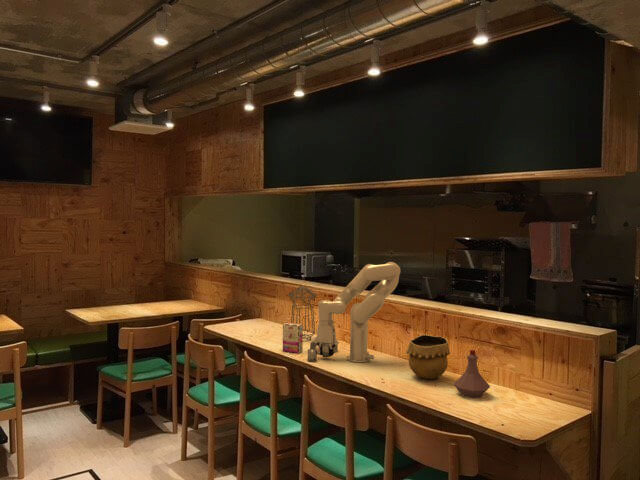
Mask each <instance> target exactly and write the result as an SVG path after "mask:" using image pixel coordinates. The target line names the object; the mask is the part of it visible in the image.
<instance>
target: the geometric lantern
mask: <svg viewBox="0 0 640 480" xmlns="http://www.w3.org/2000/svg"><path fill="white" fill-rule="evenodd" d="M308 294H309V295H308ZM287 295H288V297H289V298H290V300H291V301H292V302H293V303H292V306H291V317H292V318H290V319H291V321H290V323H294V324H301V310H302V309H305V310H304V314H305V315H304V316H305V317H304V329H303V339H305V338H306V339H307V340H305V342H311V341H312V337H313V336H314V335H315V334H316V329H315V327H316V326H314V325H315V316H314V315H315V314H314V311H315V309H314V305H312V304H311V300H312V301H314V299H316V297H317V296H319V295H318V293H315V292H314V291H312V290H311V289H309V288H308V287H306V286H305V285H301V286H299V287H297V288H295V289H294V290H292V291H290V292H288V293H287ZM306 298H307V300H305V299H306ZM309 298H310V299H309ZM297 299H299V300H300V301H302V304H296V302H297ZM306 302H307V303H306ZM304 303H305V304H304ZM298 306H299V308H298ZM302 306H305V307H302ZM294 309H295V310H296V311H298V315H296V318H295V310H294ZM309 310H310V312H311V313H310V312H309ZM310 314H311V327H312V330H310V328H308V329H306V328H307V320H308V325H310ZM294 318H295V319H296V321H294V320H295V319H294ZM298 318H299V320H298ZM307 318H308V319H307ZM295 322H296V323H295ZM306 331H307V332H306ZM309 332H310V333H312V334H308V333H309Z"/></svg>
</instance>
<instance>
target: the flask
mask: <svg viewBox="0 0 640 480" xmlns="http://www.w3.org/2000/svg"><path fill="white" fill-rule="evenodd" d="M466 358H467V365H466V369H465V371H464V372H463V374H462V375H461V376H460V377H459V378H458V379H457V380H455V381H454V383H453V386H454V387H455V389H456V390H457V391H458V392H459V394H460V395H462V396H463V397H466V398H471V399H476V398H477V399H478V398H479V399H480V398H481V397H482V396H483V395H484V394H485V393H486V392H487V391H488V390H489V389H490V388H491V385H490V384H489V383H488V382H487V381H486V380H485V378H484V377H483V376H482V375H481V374H480V372H479V371H480V370H479V368H478V362H477V361H478V359H479V356H478V355H477V354H476V350H475V349H470V350H469V354H468V355H467V356H466Z"/></svg>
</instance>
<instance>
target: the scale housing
mask: <svg viewBox="0 0 640 480" xmlns="http://www.w3.org/2000/svg"><path fill="white" fill-rule="evenodd" d="M324 344H327V343H324ZM324 344H323V345H324ZM333 344H335V342H333ZM309 346H310V347H309V349H316V350H317V355H320V348H319V346H318V345H317V344H316V343H315V342H314V340H313V341H312V342H311V341H310V343H309ZM338 346H339V343H338V344H337V345H336V346H335V347H334V348H333V352H334V353H333V354H335V353H337V352H339V350H338V348H339V347H338Z"/></svg>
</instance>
